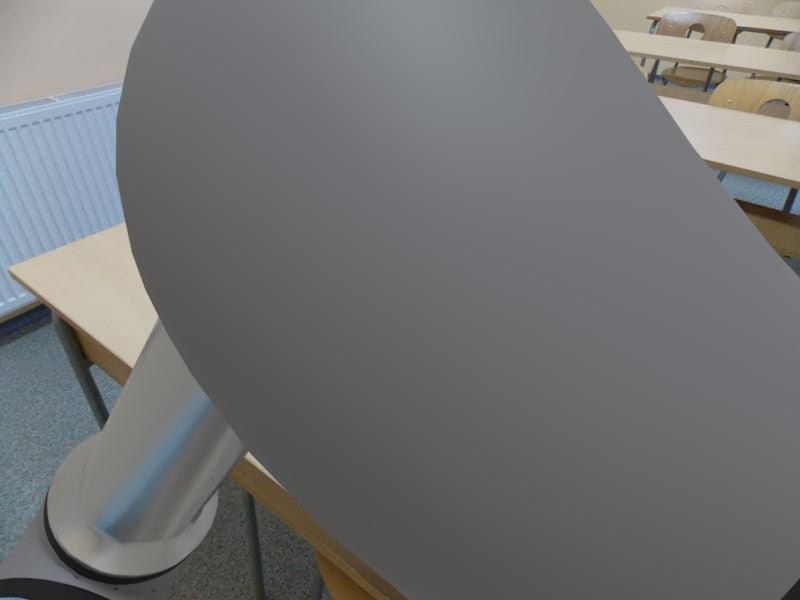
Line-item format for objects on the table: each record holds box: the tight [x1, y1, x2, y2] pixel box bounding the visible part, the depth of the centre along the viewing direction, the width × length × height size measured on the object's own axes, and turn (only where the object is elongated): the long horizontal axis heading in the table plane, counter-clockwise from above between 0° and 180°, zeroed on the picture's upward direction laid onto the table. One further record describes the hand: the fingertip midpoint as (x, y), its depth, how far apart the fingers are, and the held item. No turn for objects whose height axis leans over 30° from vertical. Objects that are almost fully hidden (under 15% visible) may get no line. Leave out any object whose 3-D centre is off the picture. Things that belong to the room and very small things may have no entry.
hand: (459, 374), depth 54 cm, fingers closed on soda can, 7 cm apart
